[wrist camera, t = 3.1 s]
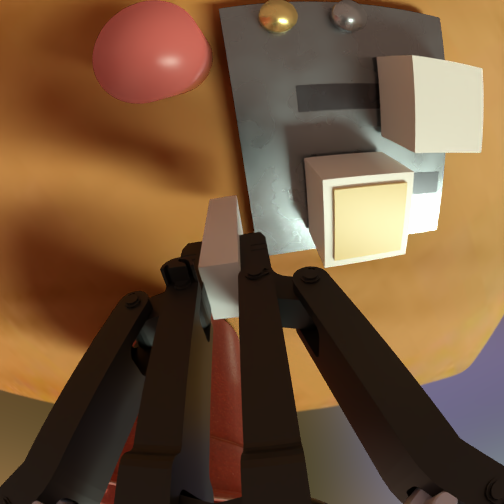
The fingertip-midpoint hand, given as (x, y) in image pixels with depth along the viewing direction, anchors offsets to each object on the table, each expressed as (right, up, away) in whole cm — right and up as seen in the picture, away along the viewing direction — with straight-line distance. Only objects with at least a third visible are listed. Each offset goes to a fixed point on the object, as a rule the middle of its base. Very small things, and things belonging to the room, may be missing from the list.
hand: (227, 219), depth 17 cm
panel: (+8, +6, 0) cm, 10 cm away
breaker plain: (+11, +8, -2) cm, 14 cm away
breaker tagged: (+7, +2, +1) cm, 8 cm away
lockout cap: (-3, +9, -2) cm, 10 cm away
